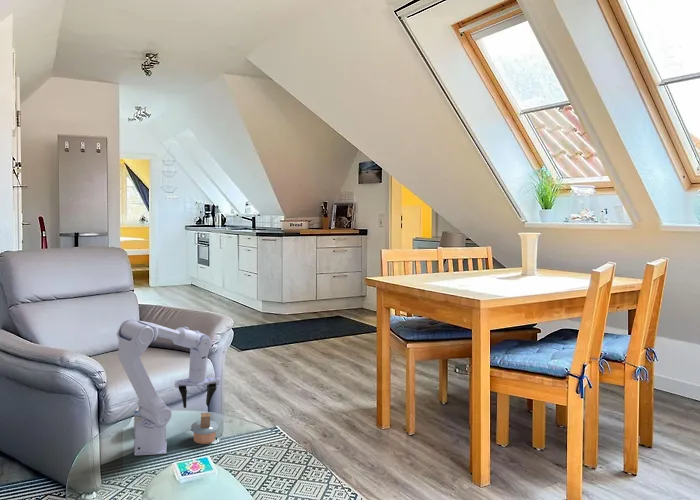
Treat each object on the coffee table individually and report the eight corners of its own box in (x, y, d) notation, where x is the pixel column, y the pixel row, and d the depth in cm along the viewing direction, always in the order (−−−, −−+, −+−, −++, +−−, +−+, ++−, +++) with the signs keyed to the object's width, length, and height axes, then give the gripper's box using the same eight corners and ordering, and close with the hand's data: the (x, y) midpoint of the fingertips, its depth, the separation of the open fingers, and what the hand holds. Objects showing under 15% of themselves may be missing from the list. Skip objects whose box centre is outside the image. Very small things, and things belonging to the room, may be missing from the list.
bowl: (194, 444, 191) (194, 433, 190) (192, 435, 197) (193, 424, 197) (215, 443, 193) (216, 431, 193) (213, 433, 200) (214, 422, 199)
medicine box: (139, 425, 201) (140, 401, 200) (152, 425, 202) (153, 402, 201) (133, 435, 194) (134, 410, 192) (146, 435, 194) (147, 411, 193)
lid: (191, 434, 189) (191, 420, 188) (191, 422, 198) (191, 409, 197) (219, 433, 192) (220, 420, 191) (218, 422, 200) (218, 408, 199)
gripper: (177, 373, 189) (175, 412, 191) (222, 370, 195) (219, 408, 197) (174, 365, 195) (173, 404, 197) (218, 363, 201) (216, 400, 203)
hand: (196, 405), depth 197 cm, fingers open, 7 cm apart
